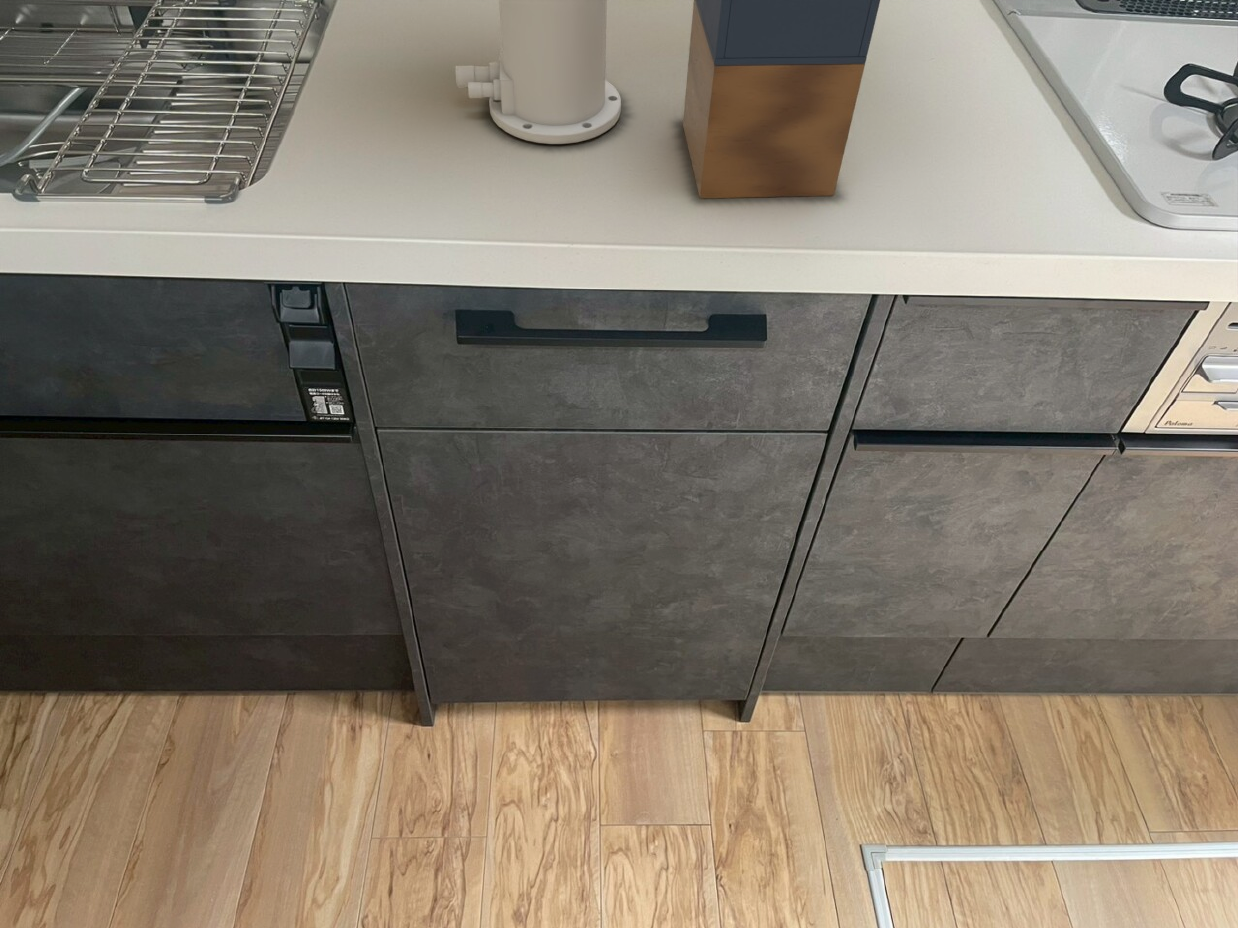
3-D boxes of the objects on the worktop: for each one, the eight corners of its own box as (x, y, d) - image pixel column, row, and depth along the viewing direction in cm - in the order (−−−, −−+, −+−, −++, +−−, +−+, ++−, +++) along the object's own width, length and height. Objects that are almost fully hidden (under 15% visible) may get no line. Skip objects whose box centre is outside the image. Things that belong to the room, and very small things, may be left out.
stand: (699, 198, 82) (714, 66, 73) (682, 125, 90) (694, -3, 80) (834, 195, 83) (865, 64, 74) (805, 123, 91) (831, -4, 81)
